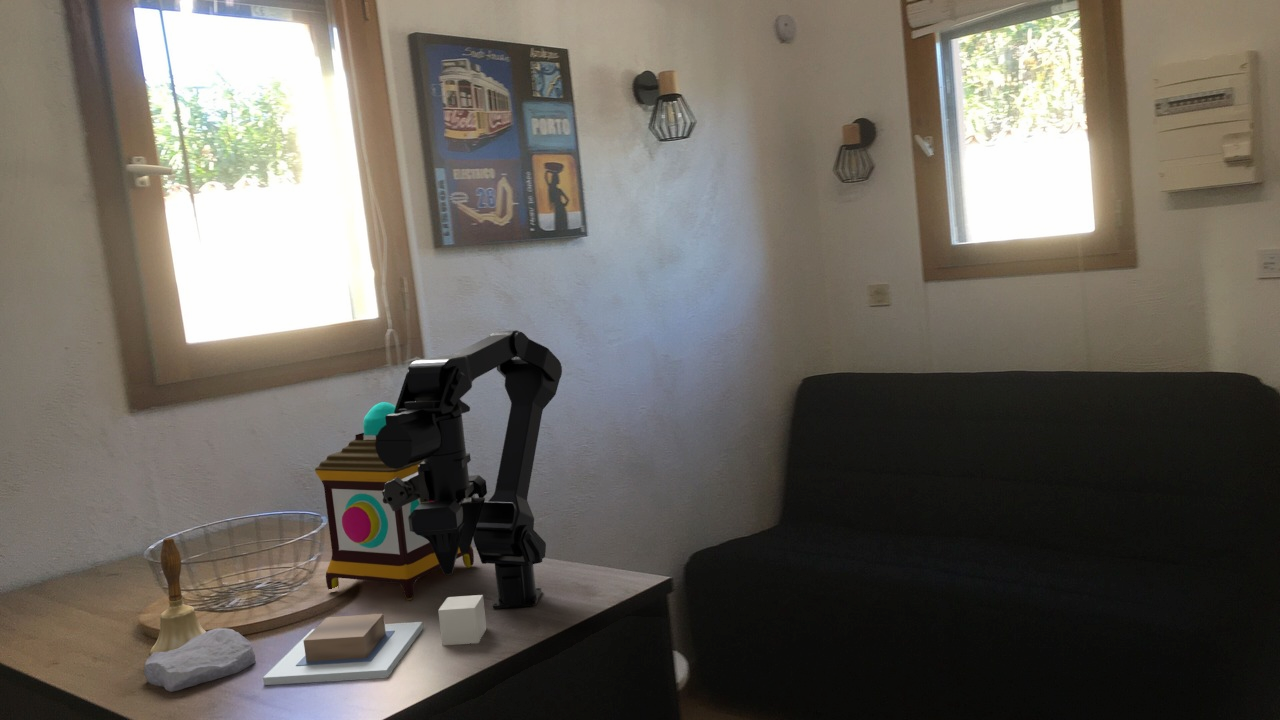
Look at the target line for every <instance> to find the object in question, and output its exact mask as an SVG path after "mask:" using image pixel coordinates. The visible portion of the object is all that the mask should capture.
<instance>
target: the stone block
mask: <svg viewBox="0 0 1280 720" xmlns="http://www.w3.org/2000/svg"><path fill="white" fill-rule="evenodd" d="M255 663H256V654H255V651H254V649H253V646H252V643H251V641H250V640H249V639H247V638H246V637H244V636H243V635H242V634H241V633H240V632H238V631H235V630H234V629H232V628H227V627H226V628H221V627H217V628H214V629H213V628H212V629H209V630H208V631H206V632H205V633H203V634H201V635H200V636H197V637H195V638H192V639H191V640H190V641H188V642H187V643H186V644H184V645H183V646H181V647H180V648H178V649H174V650H170V651H168V652H156V653H153V654H152V655H150V656H148V658H147V659H146V660H145V663H144V667H143V673H144V674H143V675H144V677H145V679H146V682H147V683H148V684H151V685H153V686H157V687H163V688H164V689H165V690H166V691H168V692H170V693H171V692H172V693H173V692H177V691H181V690H184V689H186V688H190V687H194V686H197V685H200V684H203V683H207V682H211V681H215V680H217V679H221V678H225V677H227V676H230V675H234V674H237V673H240V672H241V671H243V670H245V669H247V668H248V667H250V666H251V665H253V664H255Z"/></svg>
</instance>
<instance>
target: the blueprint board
mask: <svg viewBox="0 0 1280 720" xmlns="http://www.w3.org/2000/svg"><path fill="white" fill-rule="evenodd" d="M423 625H424V624H423V621H414V622H398V623H396V622H395V623H385V617H384V613H375V614H374V613H372V614H358V615H343V616H342V615H341V616H328V617H326V618H324V619H323V621H322V622H320V623H319V625H317V626H316V627H315V628H311V630H310V631H309V632H308V633H307V634H306V635H305V636H304V637H303V638H302V639H301V640H299V642H298V643H297V644H295V646H294V647H292V649H290V650H289V651H288V652H287V653H286V655H285V656H283V657H282V658H281V659H280V660H279V661H278V662H277V663H276V664H275V665H274V666H273V667H272V668H271V669H270V670H269V671H268V672H267V673H266V674H265V675H264V676H263V677H262V679H263V681H262V682H263V685H264V686H272V685H273V686H274V685H287V684H289V685H290V684H304V683H305V684H307V683H320V682H322V683H323V682H337V681H338V682H339V681H354V680H367V679H368V680H370V679H387V678H389V676H390V675H391V674H392V672H393V671H394V669H395V668H396V667H397V665H398V664H399V663H400V661H401V659H402V658H403V657H404V656H405V654H406V652H407V651H408V650H409V648H410V647H411V646H412V645H413V643H414V642H415V640H417V637H419V635H420V634H421V632H422V631H423V629H424V627H423Z"/></svg>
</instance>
